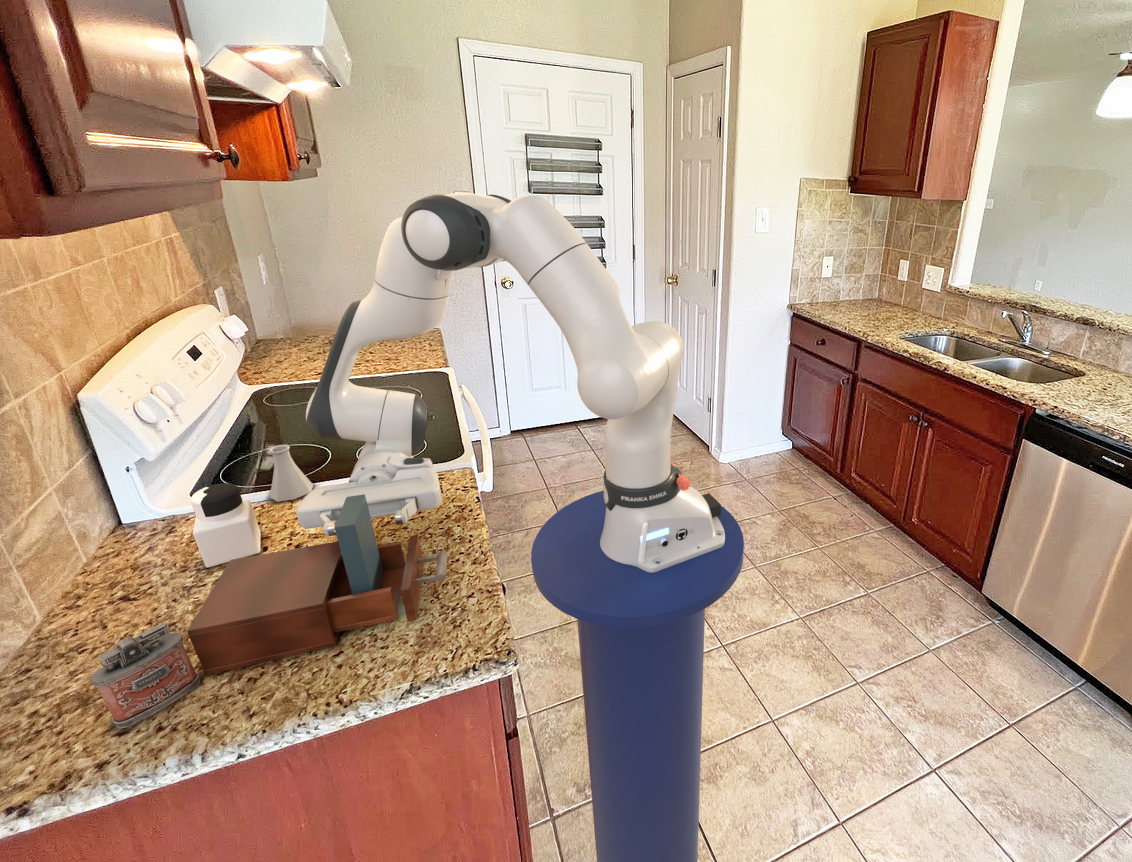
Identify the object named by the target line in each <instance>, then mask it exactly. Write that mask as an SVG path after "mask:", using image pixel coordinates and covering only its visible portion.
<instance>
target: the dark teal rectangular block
mask: <svg viewBox="0 0 1132 862" xmlns="http://www.w3.org/2000/svg"><path fill="white" fill-rule="evenodd" d="M335 531H336V535H335V536H336V538H337V539H336V540H337V542H339V546H340V550H341V554H342V557H343V561H344V565H345V568H346V572H347V576H348V579H349V583H350V587H351V590H352V594H353V595H354V594H359V593H364V592H369V591H374V590H379V589H381V588H382V584H383V579H384V571H383V567H382V563H381V559H380V555H379V551H378V546H377V545H378V543H377V537H376V534H375V530H374V525H373V522H372V518H371V517H370V513H369V509H368V505H367V501H366V496H365V494H363V495H356V496H350V497H346V499H345V502H344V505H343V507H342V510H341V512H340V515H339V517H338V520H337V523H336V525H335Z"/></svg>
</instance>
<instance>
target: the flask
mask: <svg viewBox="0 0 1132 862" xmlns="http://www.w3.org/2000/svg"><path fill="white" fill-rule="evenodd" d="M290 449H291V447H290V445H289V444H287V443H286V444H278V445H275V446H271V447H270V449H269V450H268V452H269V454H271V455H272V459H273V475H272V482H271V487H270V493H269V498H270V499H272V500H273V501H275V502H284V501H290V500H291V501H292V500H296V499H298V498H300V497H303V496H306V495H307V494H308V493H309V492H311V491H312V490H313V487H314V484H313V482H312V481H310V479H309V478H308V477H307V476H306V474H305V473H304V472H303V471H302V470H301V469H300V468H299V466H298V465H297V464H296V463H295V461H294V459H293V457H292V455H291V454H290Z"/></svg>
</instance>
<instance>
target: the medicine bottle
mask: <svg viewBox="0 0 1132 862" xmlns="http://www.w3.org/2000/svg"><path fill="white" fill-rule="evenodd" d="M189 500H190V504H191V506H192V509H193V512H194V514H195V518H194V519H195V520H194V524H193V528H192V529H193V530H192V535H193V537H194V540H195V543H196V545H197V548H198V550H199V553H200V556H201V558H202V561H203V564H204V565H205V566H204V567H206V568H212V567H216V566H219V565H222V564H226V563H227V564H228V563H229V562H230V560H232V559H238V558H244V557H250V556H256V555H259V554H260V553H261V529H260V526H259V523H258V520H257V517H256V514H255V511H254V508H253V504H252V502H251V500H250V499H245V500H243V497H242V495H241V492H240V488H239V486H238V485H236V484H234V483H230V482H224V483H223V482H222V483H216V484H211V485H207V486H205V487H202V488H200V489H199V490H197V491H196V492H194V493H193V494H192V496H191V497H190V499H189Z"/></svg>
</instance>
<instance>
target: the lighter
mask: <svg viewBox="0 0 1132 862" xmlns="http://www.w3.org/2000/svg"><path fill="white" fill-rule="evenodd" d="M97 660H98V661H99V663H100V665H101V666H102V667H100V668H98V669H97V670H95V671H94V672H93V673H92V674H91V676H90V681H91V683H92V685H93V686H94V687H97V690H98V691H99V693H100V695H101V698H102V699H103V700H104V703H105V704H106V706H107V708H108V710H109V712H110V714H111V716H112V718H111V720H112V723H113V724H114V726H115V727H116V728H117V729H124V728H128V727H130V726H133V725H134V724H137V723H138V722H140V721H142V720H145V719H146V718H149V717H150V716H152V715H154V714H156V713H157V712H159V711H162V710H163V709H165V708H166V707H168V706H169V705H171V704H172V703H175V702H176V701H178V700H179V699H180V698H182V697H184V696H185V695H186V694H188V693H189V692H191V691H192V690H193V689H195V688H196V687H197V686H198V685H200V682H201V677H200V675H199V673H198V672H197V671H195V669H194V668H195V667H193V663H192V662H191V659H190V656H189V655H188V653H187V650H186V648H185V645H184V637H183V636H182V634H181V633H180V632H172V631H171V629H170V627H169V624H168V623H166V622H165V623H164V622H162V623H159V624H157V625H155V626H153V627H151V628H149V629H147V630H145V631H143V632H141V633H140V634H139V635H137V636H135V637H125V638H123V639H120V641H118V642H117V644H116V646H115V647H113V648H111V649H109V650H107V651H105V652H103V653H101V654H99V655H98V657H97Z"/></svg>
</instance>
